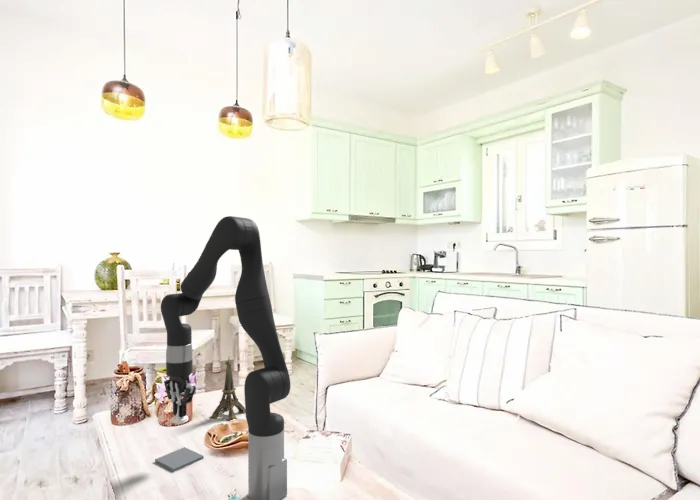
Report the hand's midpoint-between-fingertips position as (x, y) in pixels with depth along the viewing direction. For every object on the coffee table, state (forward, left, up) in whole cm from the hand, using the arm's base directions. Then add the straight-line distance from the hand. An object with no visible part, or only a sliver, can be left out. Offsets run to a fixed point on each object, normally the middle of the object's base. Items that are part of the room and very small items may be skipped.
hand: (179, 415), depth 133 cm
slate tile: (0, 0, -14) cm, 14 cm away
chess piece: (0, 0, -2) cm, 2 cm away
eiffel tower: (+18, -32, -14) cm, 40 cm away
